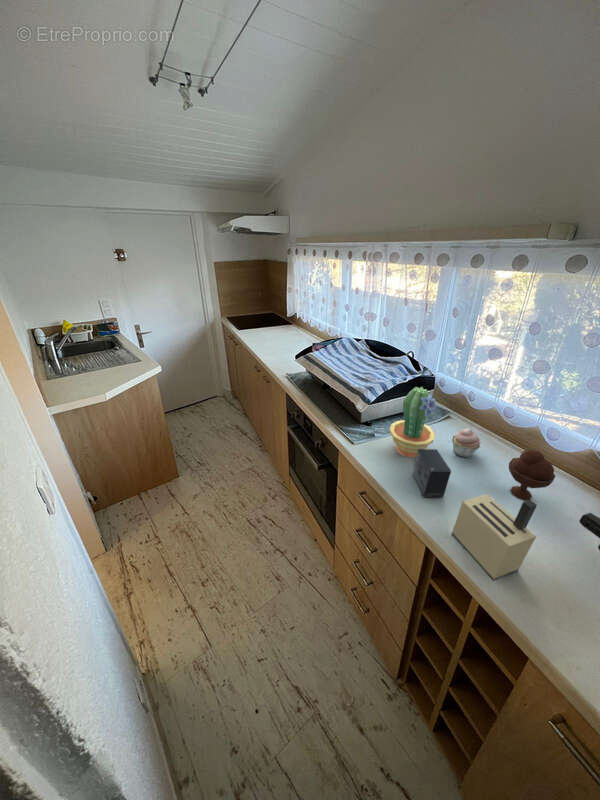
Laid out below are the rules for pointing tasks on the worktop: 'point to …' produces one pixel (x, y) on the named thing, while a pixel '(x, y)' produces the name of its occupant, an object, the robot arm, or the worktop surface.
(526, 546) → the toaster
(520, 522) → the slider
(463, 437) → the cupcake
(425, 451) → the small box
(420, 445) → the potted cactus
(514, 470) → the ice cream bowl
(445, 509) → the worktop surface
